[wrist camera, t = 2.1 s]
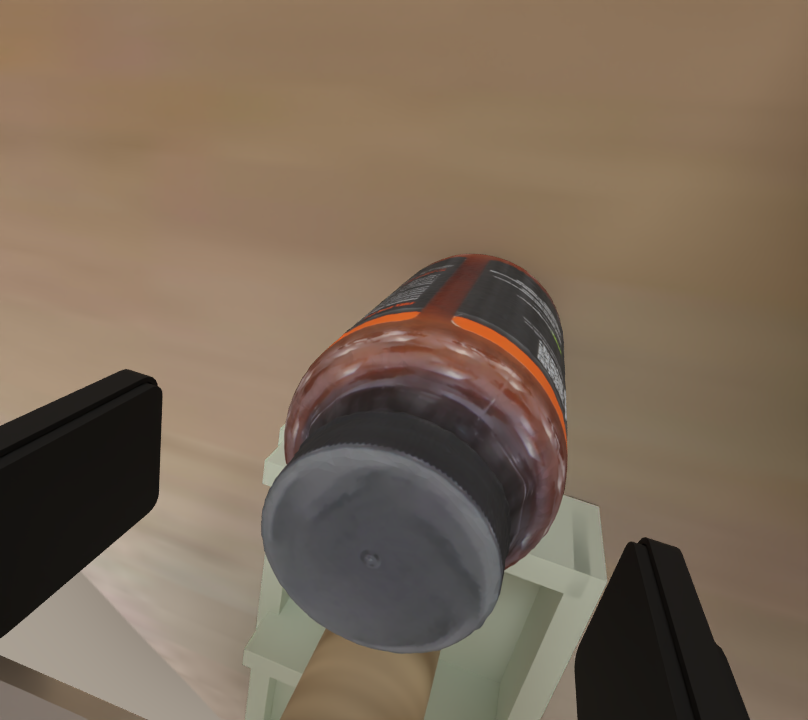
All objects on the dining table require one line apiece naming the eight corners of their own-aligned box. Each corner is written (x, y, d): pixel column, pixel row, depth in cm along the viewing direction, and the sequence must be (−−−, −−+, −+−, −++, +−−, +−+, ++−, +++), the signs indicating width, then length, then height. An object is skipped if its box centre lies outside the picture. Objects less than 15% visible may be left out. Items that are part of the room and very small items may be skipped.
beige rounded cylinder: (373, 515, 21) (233, 777, 12) (468, 549, 20) (395, 855, 11) (357, 586, 23) (223, 865, 14) (445, 620, 22) (365, 938, 13)
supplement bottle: (366, 356, 20) (157, 567, 9) (444, 215, 17) (273, 295, 7) (501, 442, 19) (436, 755, 9) (602, 312, 17) (667, 546, 7)
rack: (301, 407, 21) (252, 455, 18) (599, 506, 19) (607, 581, 16) (259, 714, 29) (219, 788, 26) (465, 807, 27) (452, 901, 24)
